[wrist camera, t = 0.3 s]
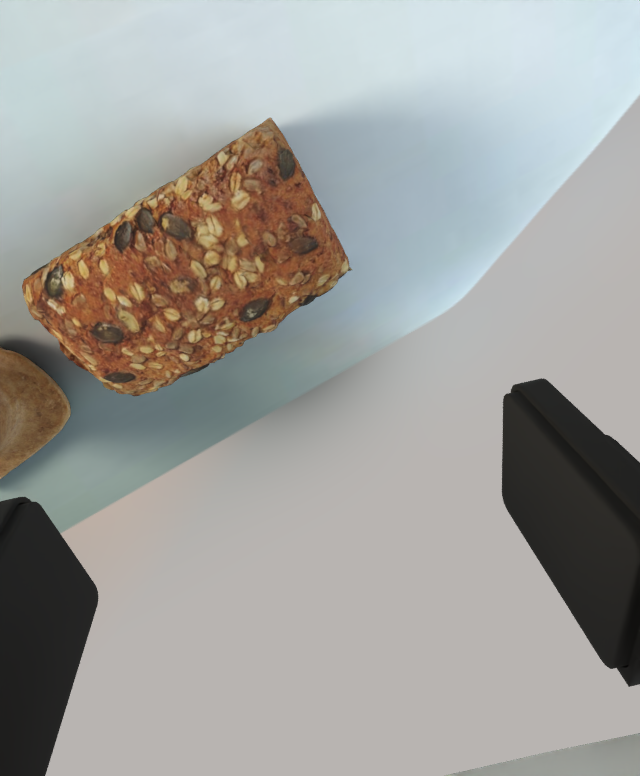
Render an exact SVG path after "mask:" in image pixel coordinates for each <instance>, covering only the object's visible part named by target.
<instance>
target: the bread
mask: <svg viewBox="0 0 640 776" xmlns="http://www.w3.org/2000/svg"><path fill="white" fill-rule="evenodd" d="M350 270H352V269H351V268H350V267H349V261H348V257H347V256H346V254H345V252H344V250H343V247H342V245H341V243H340V241H339V239H338V238H337V236H336V234H335V232H334V230H333V229H332V227H331V225H330V223H329V221H328V219H327V217H326V215H325V212H324V210H323V209H322V207H321V205H320V203H319V202H318V200H317V198H316V197H315V195H314V192H313V190H312V188H311V186H310V183H309V181H308V180H307V178H306V176H305V174H304V172H303V171H302V169H301V166H300V164H299V162H298V160H297V159H296V158H295V156H294V154H293V152H292V150H291V148H290V146H289V145H288V143H287V141H286V139H285V138H284V136H283V134H282V133H281V131H280V130H279V128H278V127H277V126H276V124H275V123H274V121H273V120H272V119H271V118H269V119H267V120H266V121H264V122H263V123H262V124H260V125H259V126H257V127H255V128H254V129H252V130H250V131H249V132H247V133H246V134H245V135H243V136H242V137H241V138H239V139H237V140H235V141H233V142H231V143H230V144H228V145H227V146H226V147H224V148H223V149H221V150H220V151H219V152H217V153H216V154H214V155H213V156H212V157H210V158H209V159H208V160H207V161H205V162H204V163H202V164H201V165H199V166H196V167H193V168H191V169H189V170H188V171H187V172H186V173H185V174H184V175H182V176H180V177H179V178H178V179H176V180H175V181H172V182H169V183H167V184H166V185H164V186H162V187H160V188H158V189H157V190H156V191H154V192H153V193H151V194H150V195H149V196H148V197H146V198H143V199H141V200H140V201H138V202H136V203H135V204H134V206H133V207H132V208H130V209H129V210H125V211H124V212H122V213H121V214H120V215H118V216H117V217H116V218H115V219H114V220H113V221H112V222H110V223H109V224H107V225H105V226H103V227H102V228H100V229H99V230H98V231H97V232H96V233H95V234H93V235H92V236H91V237H89V238H88V239H86V240H85V241H83V242H81V243H78V244H76V245H75V246H73V247H72V248H70V249H69V250H67V251H65V252H64V253H62V254H61V255H60V256H59V257H56V258H54V259H53V260H51V262H50V263H48V264H46V265H45V266H43V267H41V268H39V269H37V270H36V271H34V272H33V273H32V274H31V275H30V276H29V277H28V278H26V279H25V280H24V282H23V285H22V289H23V294H24V298H25V301H26V304H27V306H28V309H29V311H30V313H31V315H32V316H33V318H34V319H35V320H39V321H40V322H41V323H42V325H43V326H44V327H45V328H46V329H47V330H48V331H49V332H50V333H51V334H52V335H54V336H55V337H56V338H58V340H59V344H60V350H61V351H62V352H63V353H64V354H65V355H66V356H67V358H68V359H69V360H71V361H73V362H74V363H75V364H76V365H77V366H79V367H81V368H83V369H85V370H87V371H89V372H90V373H92V374H93V375H94V376H95V377H96V378H97V379H99V380H100V381H102V383H103V385H104V387H105V388H108V389H110V390H115V391H116V392H117V393H119V394H131V395H133V396H139V395H141V394H145V393H149V392H154V391H157V390H158V388H160V387H164V386H168V385H171V384H172V383H174V382H175V381H176V380H177V379H179V378H180V377H183V376H187V375H190V374H192V373H195V372H198V371H200V370H202V369H204V368H206V367H207V366H208V365H209V364H210V363H214V362H215V361H216V360H219V359H222V358H224V356H225V353H230V352H233V351H234V350H235V348H237V347H240V346H242V345H243V344H244V341H245V340H247V339H250V338H253V337H256V336H257V334H258V333H267V332H271V331H273V330H274V329H276V328H277V326H278V324H279V323H280V322H281V321H282V320H283V319H284V318H285V317H286V316H287V315H288V314H290V313H291V312H293V311H294V310H296V309H297V308H299V307H300V306H304V305H307V304H309V303H310V302H312V301H313V300H314V299H315V298H316V297H319V296H321V295H323V294H325V293H326V292H328V291H329V290H331V289H332V288H333V287H334V286H335V285H336V284H337V282H338V279H339V278H341V277H342V276H343V275H344V274H345V273H346V272H347V271H350Z"/></svg>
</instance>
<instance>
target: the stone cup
mask: <svg viewBox="0 0 640 776" xmlns="http://www.w3.org/2000/svg"><path fill="white" fill-rule="evenodd" d="M70 415H71V408H70V403H69V401H68V399H67V397H66V395H65V394H64V392H63V391H62V390H61V388H60V387H59V386H58V385H57V383H56V382H55V381H54V380H53V379H52V378H51V377H50V376H49V375H48V374H47V373H46V372H45V371H44V370H42V369H41V368H40V367H38V366H37V365H36V364H34V363H33V362H32V361H31V360H29V359H28V358H26V357H25V356H23V355H21V354H19V353H16V352H14V351H10V350H4V349H3V348H1V347H0V479H1V478H2V477H4V476H5V475H7V474H8V473H9V472H10V471H11V470H13V469H14V468H16V467H17V466H19V465H20V464H21V463H23V462H24V461H25V460H27V459H28V458H30V457H31V456H32V455H34V454H35V453H36V452H37V451H39V450H40V449H41V448H42V447H43V446H44V445H46V444H47V443H48V442H49V441H50V440H51V439H52V438H54V437H55V436H56V435H57V434H58V433H59V432H60V431H61V430H62V428H63V427H64V425H65V424H66V422H67V421H68V419H69V417H70Z"/></svg>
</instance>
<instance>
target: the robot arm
mask: <svg viewBox="0 0 640 776" xmlns="http://www.w3.org/2000/svg"><path fill="white" fill-rule="evenodd" d="M502 461H503V462H502V496H503V500H504V504H505V506H506V508H507V510H508V512H509V514H510V515H511V517H512V518H513V520H514V522H515V523H516V525H517V526H518V528H519V530H520V531H521V533H522V534H523V536H524V537H525V539H526V541H527V542H528V544H529V546H530V547H531V549H532V550H533V552H534V553H535V555H536V556H537V558H538V560H539V561H540V563H541V565H542V566H543V568H544V569H545V571H546V573H547V574H548V576H549V577H550V579H551V581H552V582H553V584H554V585H555V587H556V589H557V590H558V592H559V593H560V595H561V597H562V598H563V600H564V601H565V603H566V605H567V606H568V608H569V609H570V611H571V613H572V614H573V616H574V617H575V619H576V621H577V622H578V624H579V625H580V627H581V628H582V630H583V631H584V633H585V635H586V636H587V638H588V640H589V641H590V643H591V644H592V646H593V648H594V649H595V651H596V652H597V654H598V656H599V657H600V659H601V660H602V662H603V663H604V664H605V665H606V666H607V667H609V668H610V669H613V668H617V669H618V670H619V672H620V674H621V675H622V677H623V678H624V680H625V681H626V683H627V684H628V686H634V685H638V684H640V463H639V462H638V461H637V460H636V459H635V458H634V457H633V456H632V455H631V454H630V453H629V452H628V451H627V450H625V448H623V447H622V446H621V445H620V444H619V443H618V442H617V441H616V440H614V439H613V438H612V437H610V436H608V435H605V434H603V432H602V431H601V430H599V429H598V428H597V427H596V426H595V425H594V424H593V423H592V422H591V421H590V420H589V419H588V418H587V417H586V416H585V415H584V414H582V413H581V412H580V411H579V410H578V409H577V408H576V407H575V406H574V405H573V404H572V403H571V402H570V401H569V400H568V399H566V398H565V397H564V396H563V395H562V394H561V393H560V392H559V391H558V390H557V389H556V388H555V387H554V386H553V385H552V384H551V383H549V382H548V381H547V380H546V379H538V380H533V381H529V382H524V383H520V384H515V385H514V386H513V387H512V389H511V393H509V394H506V395H505V396H504V400H503V459H502ZM97 604H98V591H97V588H96V586H95V584H94V582H93V581H92V580H91V578H90V577H89V575H88V574H87V572H86V571H85V569H84V568H83V567H82V565H81V563H80V562H79V561H78V559H77V558H76V556H75V555H74V553H73V552H72V550H71V549H70V547H69V546H68V545H67V543H66V542H65V540H64V539H63V538H62V536H61V534H60V533H59V531H58V530H57V528H56V527H55V526H54V524H53V523H52V521H51V520H50V518H49V517H48V515H47V514H46V512H45V511H44V509H43V508H42V507H41V505H40V504H39V503H37V502H31V501H30V499H28V498H26V497H18V498H14V499H9V500H5V501H1V502H0V776H45V774H46V771H47V768H48V765H49V761H50V758H51V754H52V752H53V748H54V745H55V742H56V738H57V735H58V732H59V728H60V725H61V722H62V719H63V716H64V712H65V709H66V706H67V703H68V699H69V696H70V692H71V689H72V686H73V683H74V679H75V676H76V673H77V669H78V667H79V663H80V660H81V657H82V653H83V650H84V647H85V644H86V640H87V637H88V634H89V631H90V627H91V624H92V621H93V617H94V614H95V611H96V607H97ZM446 776H640V733H639V734H634V735H629V736H624V737H619V738H614V739H610V740H605V741H600V742H595V743H590V744H585V745H580V746H576V747H571V748H566V749H561V750H556V751H551V752H547V753H542V754H538V755H533V756H529V757H525V758H520V759H516V760H512V761H507V762H503V763H498V764H494V765H490V766H485V767H481V768H477V769H472V770H468V771H463V772H459V773H454V774H450V775H446Z"/></svg>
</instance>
